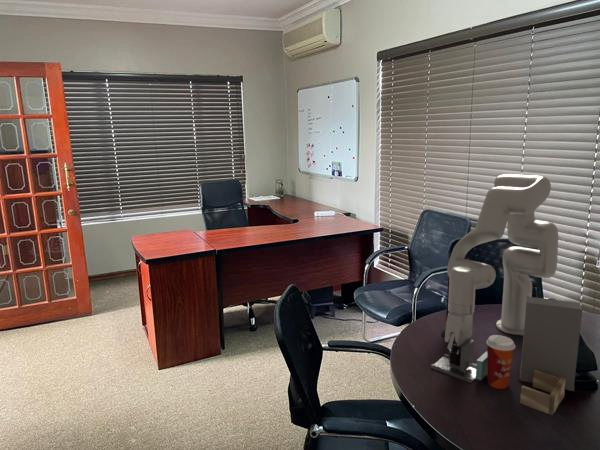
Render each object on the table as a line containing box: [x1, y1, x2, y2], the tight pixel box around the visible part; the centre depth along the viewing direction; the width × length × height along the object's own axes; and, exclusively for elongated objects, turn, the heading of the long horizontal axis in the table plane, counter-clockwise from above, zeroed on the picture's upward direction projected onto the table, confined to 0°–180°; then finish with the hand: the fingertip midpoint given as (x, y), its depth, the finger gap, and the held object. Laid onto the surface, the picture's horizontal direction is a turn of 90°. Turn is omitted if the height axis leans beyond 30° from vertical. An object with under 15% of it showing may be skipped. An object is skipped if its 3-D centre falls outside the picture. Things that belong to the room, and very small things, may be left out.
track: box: [430, 353, 477, 384], centre depth 138 cm, size 10×13×1 cm
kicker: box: [449, 338, 488, 381], centre depth 135 cm, size 7×11×9 cm, turn 46°
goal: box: [519, 370, 566, 416], centre depth 121 cm, size 12×8×6 cm
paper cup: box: [486, 334, 516, 390], centre depth 128 cm, size 8×8×14 cm
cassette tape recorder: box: [519, 296, 583, 392], centre depth 128 cm, size 14×6×25 cm, turn 64°
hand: (458, 360), depth 138 cm, fingers closed on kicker, 4 cm apart
